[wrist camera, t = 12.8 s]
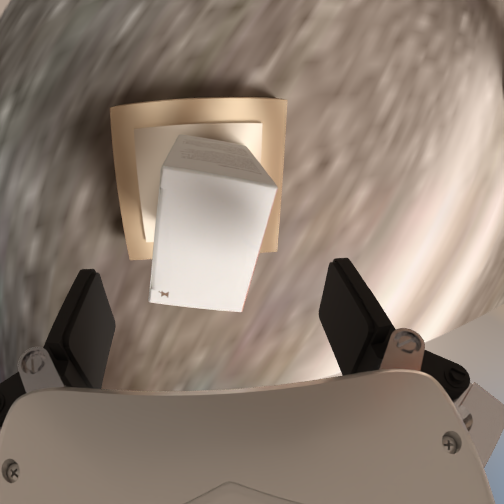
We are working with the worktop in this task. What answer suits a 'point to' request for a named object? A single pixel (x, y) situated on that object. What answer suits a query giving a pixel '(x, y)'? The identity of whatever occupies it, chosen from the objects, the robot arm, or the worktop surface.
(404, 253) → the worktop surface
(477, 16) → the worktop surface
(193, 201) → the small box
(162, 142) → the maple plinth
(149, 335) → the worktop surface
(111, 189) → the worktop surface
